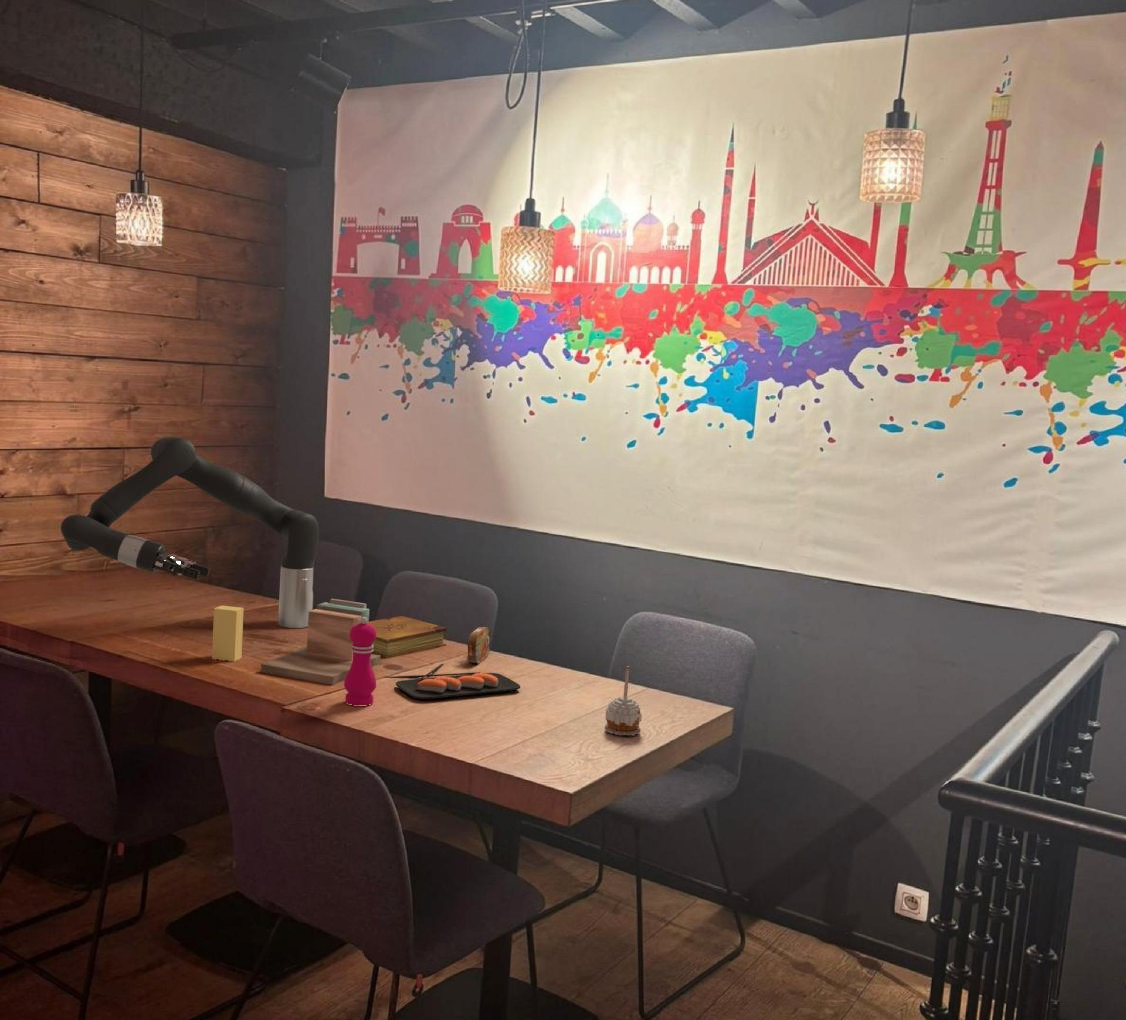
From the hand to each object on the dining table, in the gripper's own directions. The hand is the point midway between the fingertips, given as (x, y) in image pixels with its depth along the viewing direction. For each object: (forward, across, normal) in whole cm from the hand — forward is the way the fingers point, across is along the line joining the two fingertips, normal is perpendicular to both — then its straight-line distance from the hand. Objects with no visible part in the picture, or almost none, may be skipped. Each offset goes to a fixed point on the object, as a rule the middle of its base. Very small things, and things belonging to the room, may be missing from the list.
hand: (203, 574), depth 273 cm
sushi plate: (+66, -6, +6) cm, 67 cm away
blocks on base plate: (+36, -1, +13) cm, 38 cm away
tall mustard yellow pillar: (+12, +1, +19) cm, 22 cm away
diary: (+49, +26, +7) cm, 56 cm away
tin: (+73, +16, +2) cm, 75 cm away
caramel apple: (+107, -38, -2) cm, 114 cm away
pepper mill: (+50, -28, +12) cm, 58 cm away
